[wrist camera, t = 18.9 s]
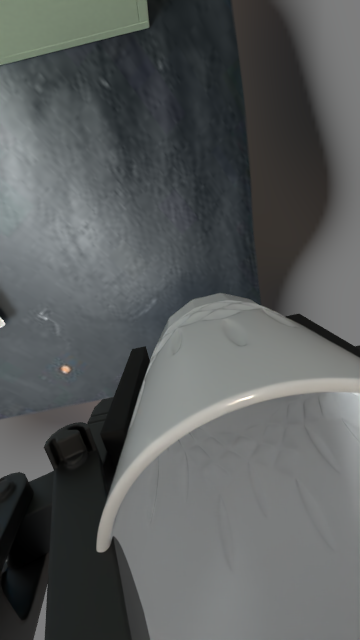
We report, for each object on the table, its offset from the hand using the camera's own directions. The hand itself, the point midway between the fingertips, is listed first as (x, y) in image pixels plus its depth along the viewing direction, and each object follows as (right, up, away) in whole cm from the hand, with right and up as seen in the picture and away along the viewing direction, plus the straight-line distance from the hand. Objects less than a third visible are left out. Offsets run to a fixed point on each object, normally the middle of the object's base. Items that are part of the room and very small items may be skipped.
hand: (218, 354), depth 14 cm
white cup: (0, 0, 0) cm, 0 cm away
